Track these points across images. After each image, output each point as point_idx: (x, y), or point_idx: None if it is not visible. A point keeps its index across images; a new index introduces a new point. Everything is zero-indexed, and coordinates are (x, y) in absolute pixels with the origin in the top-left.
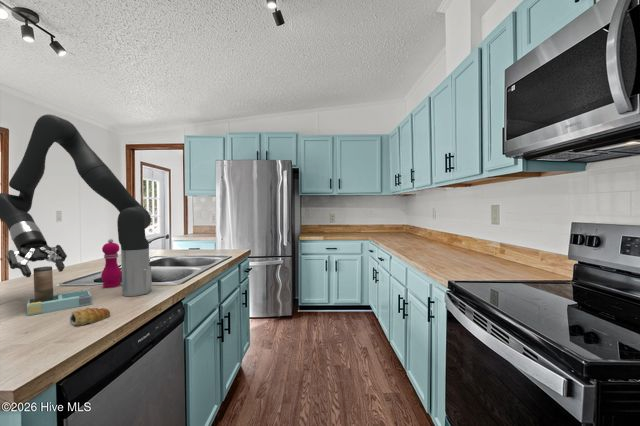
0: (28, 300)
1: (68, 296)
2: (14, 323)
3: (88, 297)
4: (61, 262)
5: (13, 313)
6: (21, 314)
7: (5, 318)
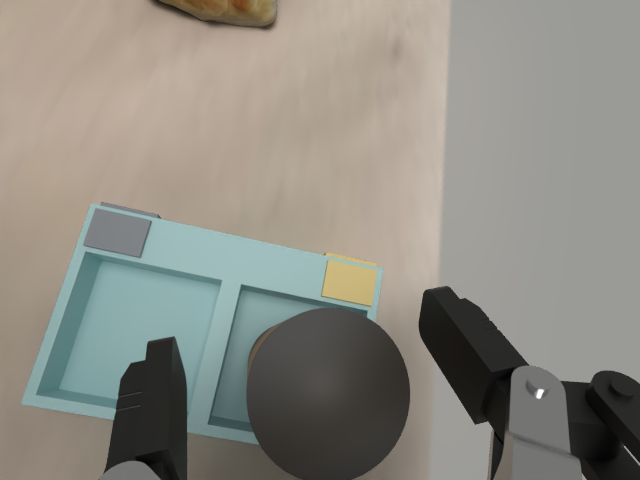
0: None
1: None
2: (415, 202)
3: (110, 204)
4: (129, 429)
5: None
6: None
7: None
